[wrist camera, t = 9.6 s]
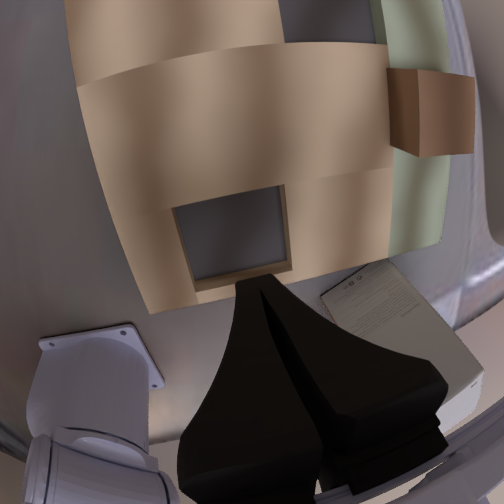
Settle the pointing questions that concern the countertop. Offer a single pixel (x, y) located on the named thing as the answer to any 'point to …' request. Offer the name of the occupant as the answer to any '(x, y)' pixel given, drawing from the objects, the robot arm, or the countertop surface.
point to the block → (431, 112)
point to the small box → (407, 331)
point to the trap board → (255, 136)
